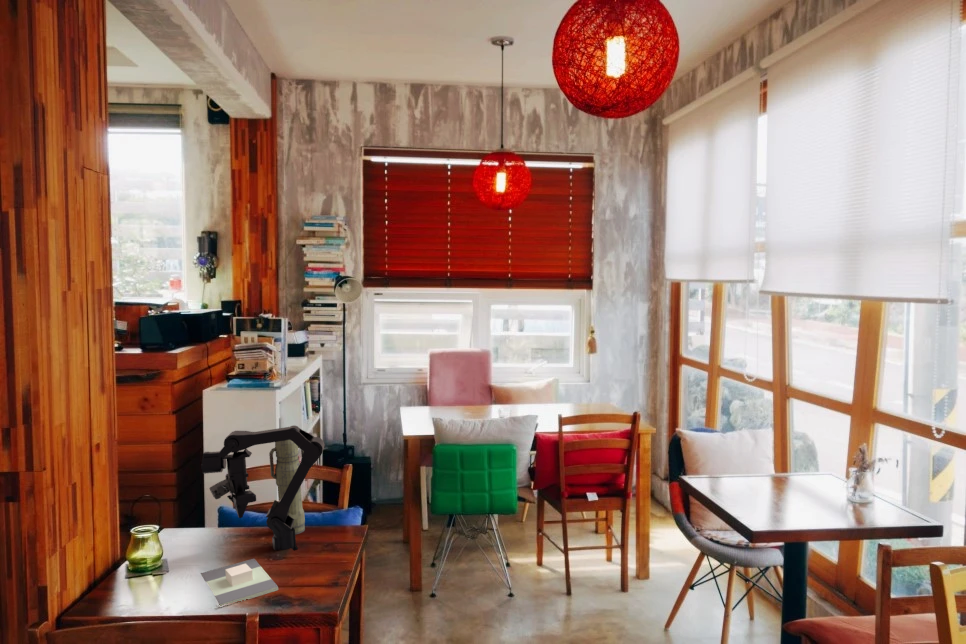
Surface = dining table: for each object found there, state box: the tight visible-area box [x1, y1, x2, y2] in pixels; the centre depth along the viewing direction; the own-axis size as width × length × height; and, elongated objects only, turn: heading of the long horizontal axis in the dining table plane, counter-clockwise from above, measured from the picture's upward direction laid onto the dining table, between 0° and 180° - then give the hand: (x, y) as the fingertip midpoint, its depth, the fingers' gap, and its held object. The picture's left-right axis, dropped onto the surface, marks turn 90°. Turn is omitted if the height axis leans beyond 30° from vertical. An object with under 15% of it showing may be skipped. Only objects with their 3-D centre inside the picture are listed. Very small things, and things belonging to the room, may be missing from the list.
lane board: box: [205, 565, 279, 607], centre depth 200 cm, size 16×24×1 cm, turn 34°
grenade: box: [268, 440, 306, 536], centre depth 237 cm, size 9×12×35 cm
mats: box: [200, 558, 279, 604], centre depth 200 cm, size 16×24×1 cm, turn 34°
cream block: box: [225, 563, 253, 586], centre depth 200 cm, size 6×6×3 cm
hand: (240, 517), depth 220 cm, fingers closed
